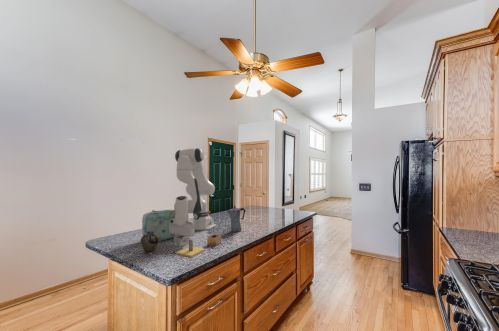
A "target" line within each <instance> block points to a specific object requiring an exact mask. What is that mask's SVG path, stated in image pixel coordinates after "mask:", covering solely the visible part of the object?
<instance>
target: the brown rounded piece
mask: <svg viewBox="0 0 499 331" xmlns="http://www.w3.org/2000/svg"><path fill="white" fill-rule="evenodd" d="M206 240H207V244H206V245H207V246H211V247H217V246H218V245H219V244H221V243H222V234H215V233H213V234H212V235H210V236H208V237H207V238H206Z"/></svg>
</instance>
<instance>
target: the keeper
mask: <svg viewBox="0 0 499 331" xmlns="http://www.w3.org/2000/svg"><path fill="white" fill-rule="evenodd" d="M205 251H206V249H205V248H202V247H197V246H194V239H192V238H189V243H188V246H187V247H184V248H183V249H180V250H178V251H176V252H175V254H176V255H179V256H184V257H187V258H193V257H195V256H197V255H199V254H202V253H203V252H205Z"/></svg>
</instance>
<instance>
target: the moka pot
mask: <svg viewBox="0 0 499 331" xmlns="http://www.w3.org/2000/svg"><path fill="white" fill-rule="evenodd" d="M241 211H243V214H242V217H241ZM227 213H228V215H229V216H230V221H231V222H230V231H231V232H233V233H237V232H241V231H242V225H241V220H244V218H245V213H246V209H245V208H244V207H239V208H237V207H236V205H234V206H233V208H231V209H228V210H227Z"/></svg>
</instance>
